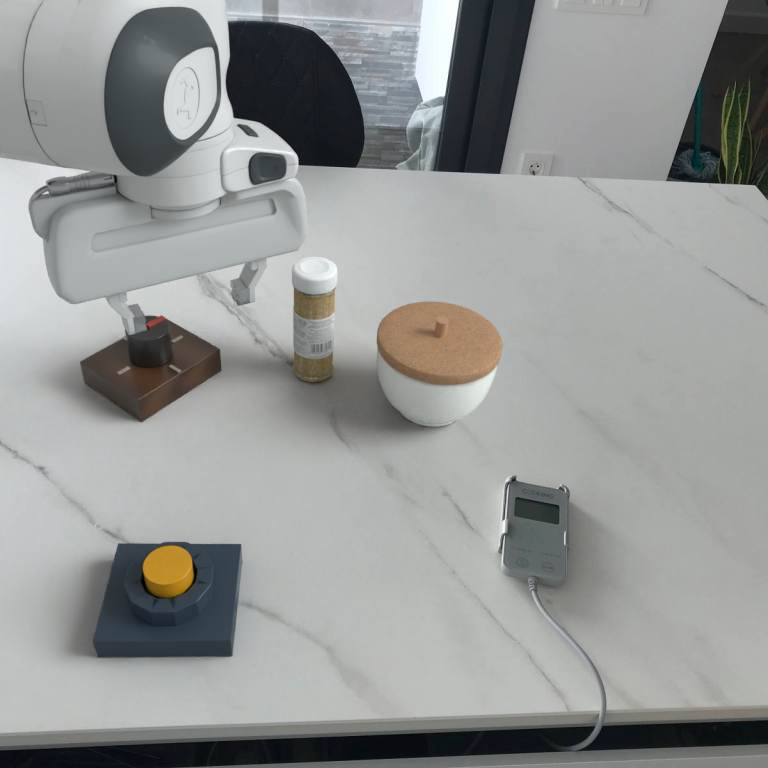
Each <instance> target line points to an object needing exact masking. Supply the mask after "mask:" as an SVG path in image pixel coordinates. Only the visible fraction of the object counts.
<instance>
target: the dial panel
mask: <svg viewBox="0 0 768 768" xmlns="http://www.w3.org/2000/svg"><path fill="white" fill-rule="evenodd" d="M165 320H166V321H167V322H168V323H169V326H170V334H171V342H172V350H173V355H172V357H171V359H170V360H169V361H168V362H166V363H165V364H163V365H160V366H157V367H140V366H137V365H135V364H134V363H132V362H131V360H130V358H129V352H128V347H127V341H126V336H124V337H122V338H120V339H118V340H117V341H115V342H113V343H111V344H109V345H107V346H105V347H104V348H102V349H100V350H98V351H96V352H95V353H92V354H91V355H89V356H87V357H86V358H84V359H82V360H80V361H79V364H80V370H81V374H82V378H83V383H84V385H86V386H87V387H89V388H90V389H92V390H93V391H95V392H96V393H97V394H99V395H100V396H102V397H104V398H105V399H107V400H108V401H109V402H111V403H113V404H114V405H116V406H117V407H119V408H120V409H121V410H124V411H125V412H126V413H128V414H129V415H131V416H132V417H134V418H136V419H137V420H139V421H140V422H141V423H142V422H145V421H146V420H147V419H149V418H150V417H152V416H154V415H155V414H156V413H158V412H160V411H162V410H163V409H165V408H167V406H169V405H171V404H172V403H173V402H175V401H177V400H178V399H179V398H182V397H183V396H185V395H187V393H189V392H190V391H192V390H194V389H195V388H197V387H199V386H200V385H201V384H203V383H205V382H207V381H208V380H209V379H211V378H212V377H214V376H215V375H217V374H219V373H220V372H221V371H222V358H221V348H219V347H218V346H216V345H214V344H212V343H210V342H208V341H207V340H205V339H203V338H202V337H199V336H198V335H196V334H195V333H193V332H191V331H189V330H187V329H186V328H184V327H182V326H180V325H179V324H177V323H175V322H173V321H172V320H170V319H168V318H166V317H165Z"/></svg>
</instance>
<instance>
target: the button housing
mask: <svg viewBox="0 0 768 768" xmlns="http://www.w3.org/2000/svg"><path fill="white" fill-rule="evenodd" d="M164 546H178V547H181V548H183V549H185V550H186V551H187V552H188V553H189V554H190V556H191V559H192V565H193V572H194V578H193V582H192V584H191V586H190V587H189V588H188V589H187V590H186V591H185V592H184V593H182V594H180V595H178V596H176V597H172V598H160V597H157V596H155V595H153V594H152V593H150V592H149V590H148V589H147V587H146V583H145V578H144V573H143V564H144V561H145V559H146V558H147V556H148V555H149V554H150V553H151V552H153V551H154V550H156V549H158V548H160V547H164ZM242 567H243V549H242V543H190V542H187V541H162V542H160V543H133V542H131V543H129V542H127V543H123V542H122V543H120V542H119V543H117V546H116V550H115V553H114V557H113V561H112V565H111V569H110V573H109V577H108V581H107V584H106V589H105V592H104V596H103V599H102V604H101V608H100V611H99V615H98V619H97V623H96V627H95V631H94V634H93V639H92V644H93V647H94V650H95V654H96V657H97V658H168V657H170V658H171V657H172V658H174V657H178V658H179V657H180V658H181V657H183V658H184V657H187V658H188V657H189V658H190V657H233V654H234V647H235V646H234V645H235V644H234V643H235V635H236V626H237V616H238V615H237V614H238V607H239V597H240V587H241V579H242V578H241V577H242Z"/></svg>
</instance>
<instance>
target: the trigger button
mask: <svg viewBox="0 0 768 768" xmlns="http://www.w3.org/2000/svg"><path fill="white" fill-rule="evenodd" d="M143 573H144V578H145V583H146V587H147V589H148V590H149V592H150V593H152V594H153V595H155V596H157V597H160V598H172V597H176V596H178V595H180V594H182V593H184V592H185V591H186V590H187V589H188V588H189V587H190V586H191V584H192V582H193V578H194V572H193V565H192V559H191V556H190V554H189V553H188V552H187V551H186V550H185V549H183V548H181V547H178V546H164V547H160V548H158V549H156V550H154V551H153V552H151V553H150V554H149V555H148V556H147V558H146V559H145V561H144V564H143Z"/></svg>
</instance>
